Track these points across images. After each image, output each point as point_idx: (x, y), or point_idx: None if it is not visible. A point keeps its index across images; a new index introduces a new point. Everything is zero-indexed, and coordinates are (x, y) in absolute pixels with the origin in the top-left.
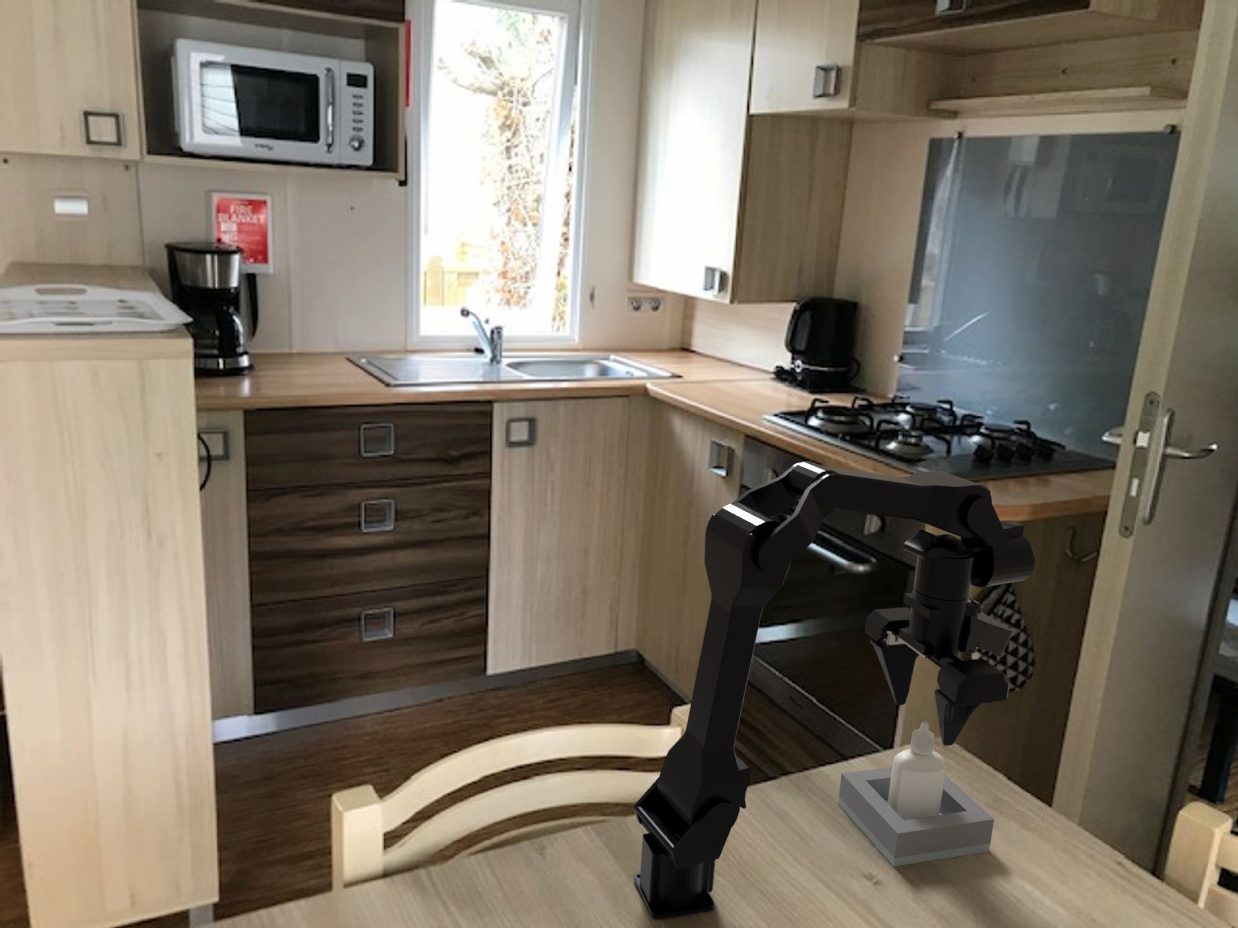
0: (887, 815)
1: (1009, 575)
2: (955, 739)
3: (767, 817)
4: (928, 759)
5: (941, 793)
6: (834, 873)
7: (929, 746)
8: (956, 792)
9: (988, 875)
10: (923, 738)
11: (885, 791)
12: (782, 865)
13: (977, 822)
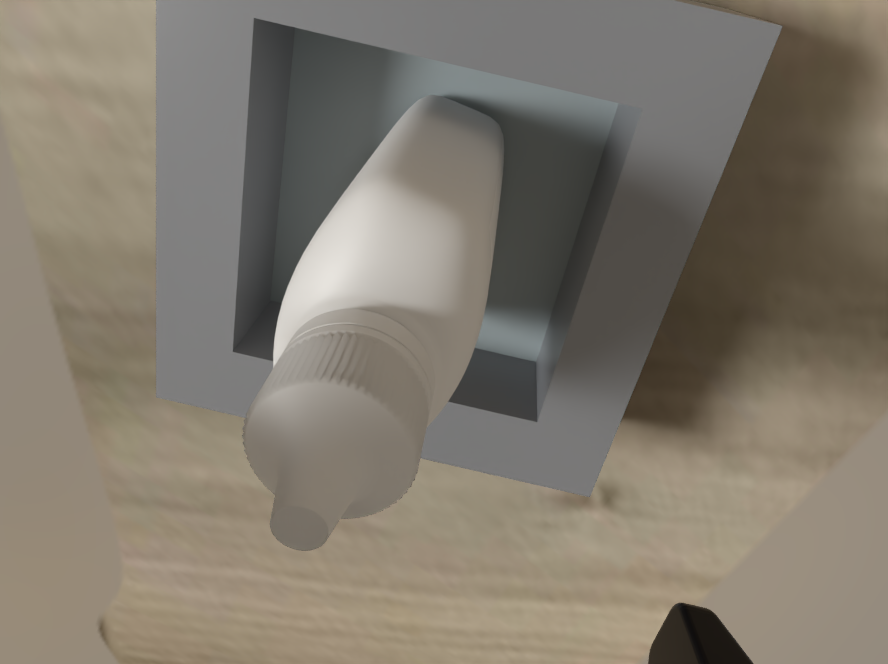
0: (481, 450)
1: None
2: (745, 659)
3: (223, 538)
4: (443, 372)
5: (497, 172)
6: (515, 554)
7: (425, 429)
8: (484, 12)
9: (823, 155)
10: (389, 506)
11: (263, 223)
12: (425, 624)
13: (735, 135)
